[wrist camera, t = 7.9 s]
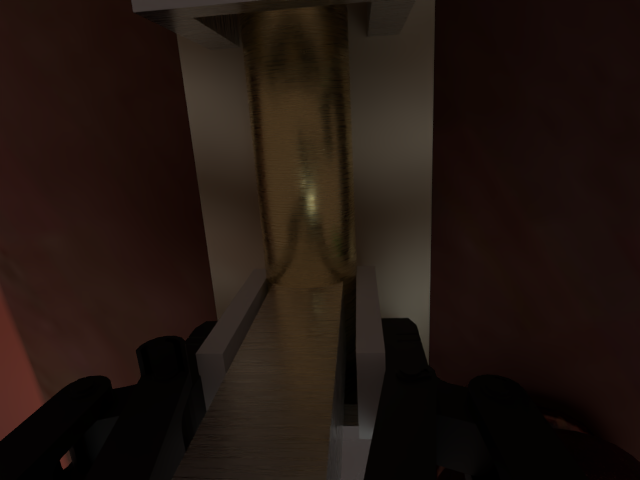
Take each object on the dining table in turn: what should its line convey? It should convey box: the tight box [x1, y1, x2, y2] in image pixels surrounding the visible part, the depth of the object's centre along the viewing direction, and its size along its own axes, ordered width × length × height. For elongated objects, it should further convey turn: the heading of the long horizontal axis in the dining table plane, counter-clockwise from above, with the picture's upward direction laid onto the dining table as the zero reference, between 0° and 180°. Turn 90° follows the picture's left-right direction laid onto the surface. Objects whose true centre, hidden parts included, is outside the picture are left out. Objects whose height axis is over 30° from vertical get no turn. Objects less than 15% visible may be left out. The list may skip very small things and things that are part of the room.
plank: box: [177, 0, 435, 365], centre depth 18 cm, size 20×10×1 cm, turn 4°
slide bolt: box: [172, 4, 358, 480], centre depth 11 cm, size 18×4×12 cm, turn 4°
